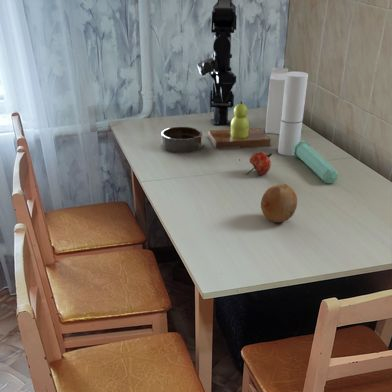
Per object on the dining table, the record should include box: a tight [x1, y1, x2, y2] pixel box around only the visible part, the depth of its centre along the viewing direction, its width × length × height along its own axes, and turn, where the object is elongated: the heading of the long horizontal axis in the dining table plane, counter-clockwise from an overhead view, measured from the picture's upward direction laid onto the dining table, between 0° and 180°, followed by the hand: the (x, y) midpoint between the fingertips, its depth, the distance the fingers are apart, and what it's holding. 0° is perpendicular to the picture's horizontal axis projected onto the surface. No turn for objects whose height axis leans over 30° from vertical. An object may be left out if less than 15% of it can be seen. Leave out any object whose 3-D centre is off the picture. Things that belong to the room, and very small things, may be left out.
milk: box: [264, 67, 289, 135], centre depth 201 cm, size 6×6×22 cm
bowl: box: [160, 126, 203, 154], centre depth 192 cm, size 14×14×5 cm
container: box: [294, 140, 339, 184], centre depth 175 cm, size 6×6×25 cm
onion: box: [260, 183, 298, 223], centre depth 145 cm, size 10×10×10 cm
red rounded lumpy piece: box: [245, 151, 273, 176], centre depth 172 cm, size 7×7×10 cm
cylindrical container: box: [277, 71, 309, 157], centre depth 182 cm, size 7×7×25 cm
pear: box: [230, 100, 250, 138], centre depth 193 cm, size 7×7×12 cm
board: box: [207, 127, 272, 149], centre depth 198 cm, size 13×20×2 cm, turn 101°
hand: (220, 99), depth 195 cm, fingers open, 9 cm apart
